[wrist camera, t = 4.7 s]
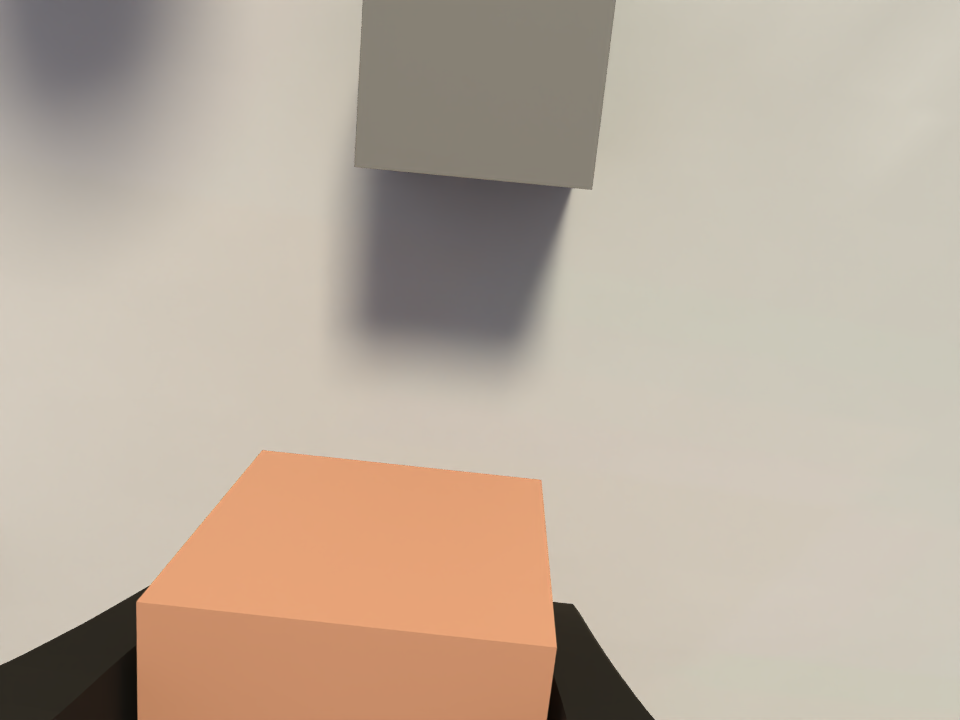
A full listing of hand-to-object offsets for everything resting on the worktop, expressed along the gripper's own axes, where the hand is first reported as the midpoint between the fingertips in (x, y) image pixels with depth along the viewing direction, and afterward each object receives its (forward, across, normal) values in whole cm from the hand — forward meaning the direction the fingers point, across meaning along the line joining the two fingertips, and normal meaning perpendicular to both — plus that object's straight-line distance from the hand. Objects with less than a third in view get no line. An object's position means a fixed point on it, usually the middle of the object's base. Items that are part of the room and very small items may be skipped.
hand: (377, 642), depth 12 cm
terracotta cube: (+2, 0, 0) cm, 2 cm away
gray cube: (+10, -1, -9) cm, 13 cm away
